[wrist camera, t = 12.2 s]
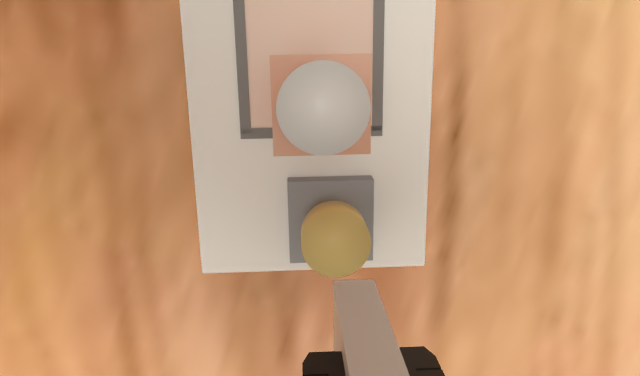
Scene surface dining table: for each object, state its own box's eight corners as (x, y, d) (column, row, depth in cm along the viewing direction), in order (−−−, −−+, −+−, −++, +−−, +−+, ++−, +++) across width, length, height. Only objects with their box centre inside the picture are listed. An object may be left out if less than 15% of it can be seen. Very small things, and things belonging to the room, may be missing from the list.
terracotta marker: (280, 60, 26) (267, 54, 14) (341, 59, 26) (377, 52, 15) (282, 121, 27) (272, 163, 15) (341, 120, 27) (376, 160, 15)
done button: (300, 201, 25) (300, 212, 24) (366, 199, 26) (371, 210, 24) (301, 263, 26) (302, 278, 24) (365, 261, 27) (371, 276, 25)
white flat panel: (161, -260, 23) (148, -290, 21) (442, -256, 24) (455, -284, 22) (204, 268, 30) (198, 282, 28) (421, 260, 31) (429, 273, 29)
